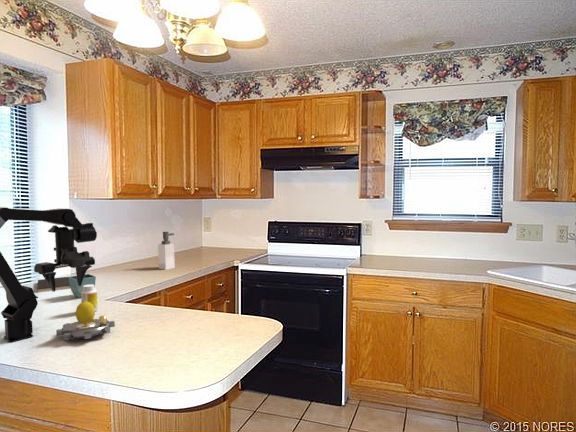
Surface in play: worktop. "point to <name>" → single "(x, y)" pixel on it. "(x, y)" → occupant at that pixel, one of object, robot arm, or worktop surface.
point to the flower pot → (86, 281)
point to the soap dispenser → (166, 253)
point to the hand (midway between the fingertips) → (67, 288)
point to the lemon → (85, 312)
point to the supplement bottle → (90, 295)
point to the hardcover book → (59, 284)
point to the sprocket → (85, 328)
